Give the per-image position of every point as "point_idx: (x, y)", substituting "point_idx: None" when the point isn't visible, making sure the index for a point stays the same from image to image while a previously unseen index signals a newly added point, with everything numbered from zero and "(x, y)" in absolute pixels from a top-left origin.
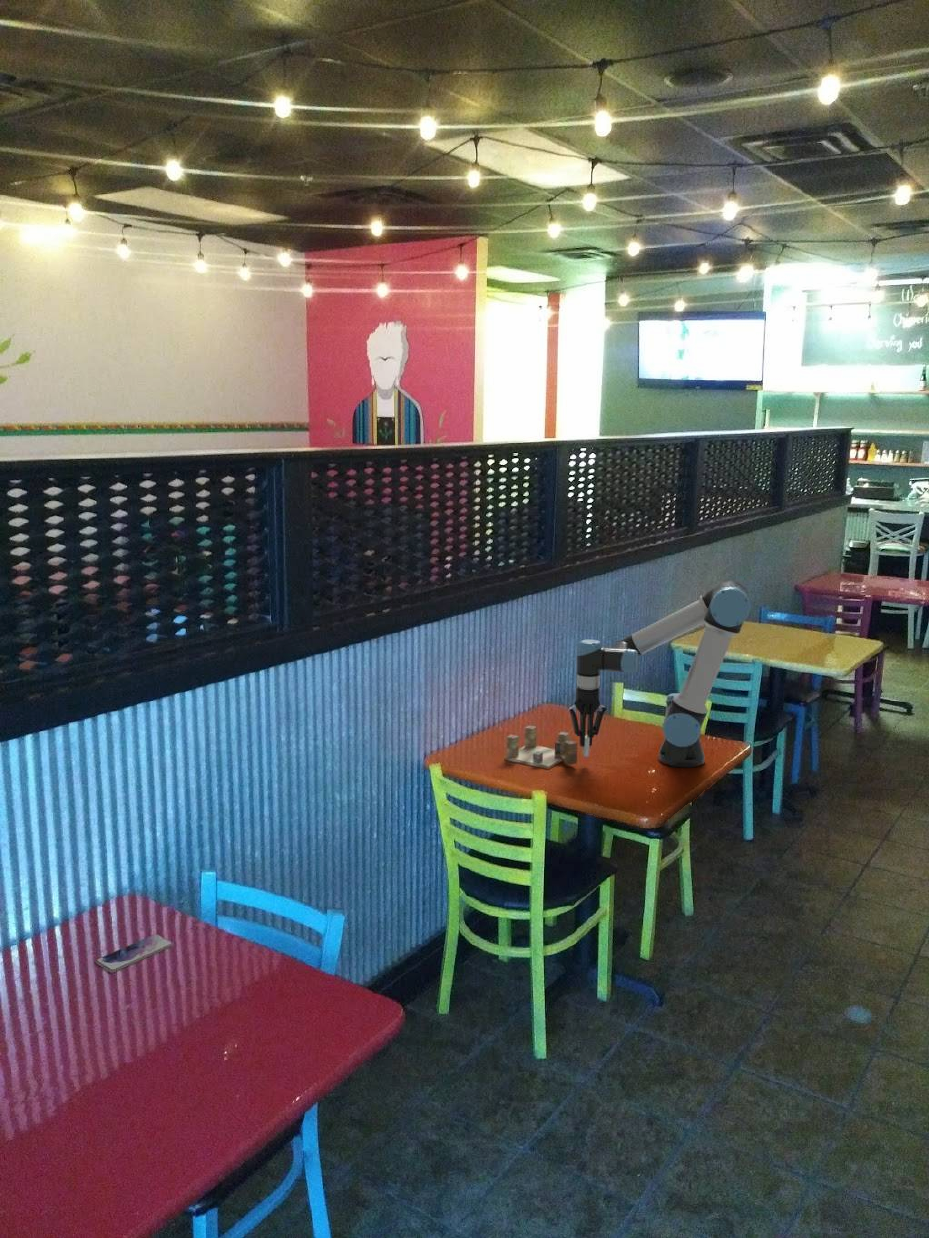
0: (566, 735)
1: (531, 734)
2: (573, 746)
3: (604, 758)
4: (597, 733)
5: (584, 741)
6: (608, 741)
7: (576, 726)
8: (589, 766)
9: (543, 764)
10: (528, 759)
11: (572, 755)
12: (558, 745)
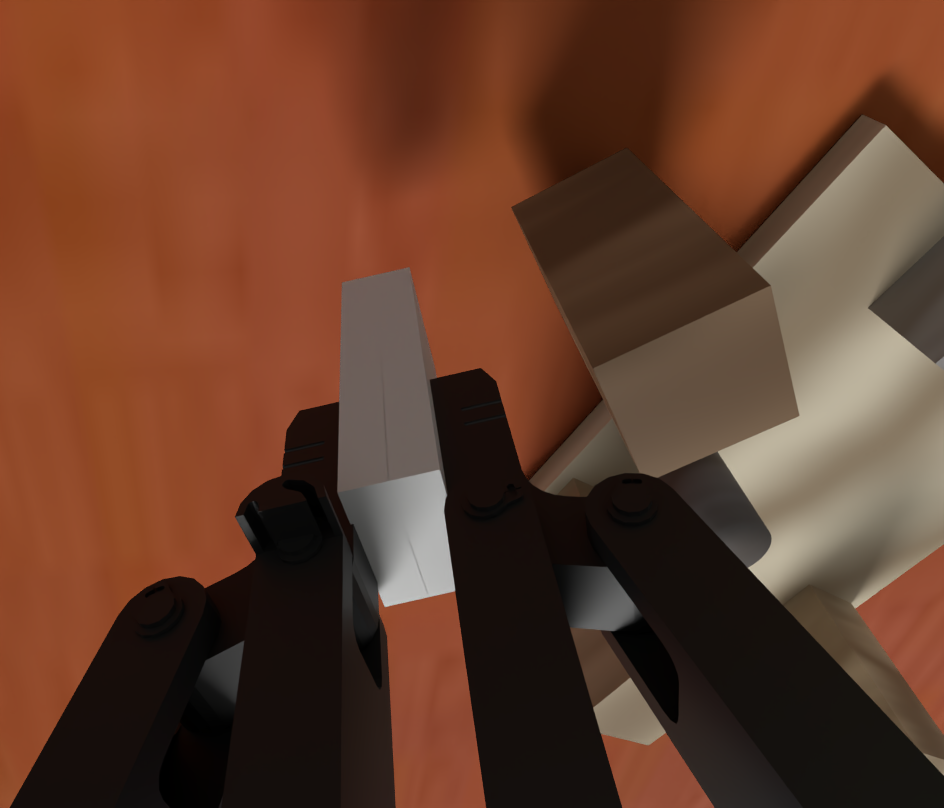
0: None
1: (888, 697)
2: (658, 298)
3: (156, 477)
4: (131, 616)
5: (440, 438)
6: None
7: (804, 689)
8: (331, 227)
9: (915, 189)
10: None
11: (618, 221)
12: (726, 505)
